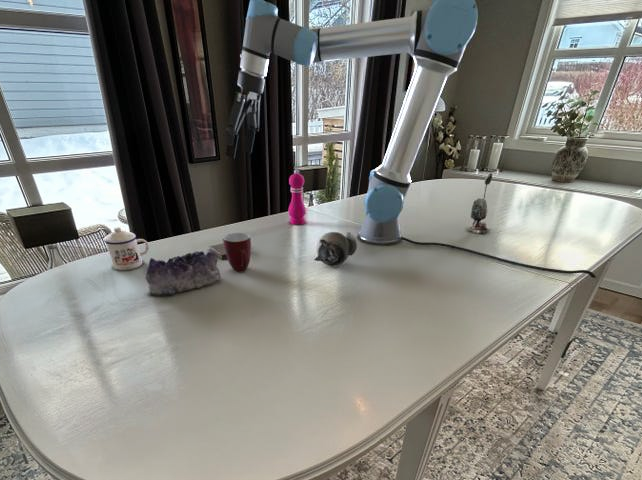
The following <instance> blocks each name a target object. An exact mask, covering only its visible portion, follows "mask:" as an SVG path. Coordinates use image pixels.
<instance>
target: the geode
mask: <svg viewBox="0 0 642 480" xmlns="http://www.w3.org/2000/svg"><path fill="white" fill-rule="evenodd" d="M218 258H219V257H218V256H217V255H215V254H214V253H213V252H211V251H207V252H206V254H205V252H204V251H203V250H201V251H199V250H195V251H193V252H188V253H185V254H183V255H181V256H180V255H178V256H174V257H171V258H168V260H167V261H165V260H163V259H158V260H156V259H155V258H153V257H151V258H150V259H149V263H148V265H147V268H146V274H145V280H146V283H147V284H148V291H149V294H150V296H160V297H163V296H171V295H174V294H177V293H181V292H184V291H189V290H193V289H196V288H199V289H200V288H201V287H205V286H208V285H211V284H213V283H216V282H218V281H219V280H220V279H221V271H220V269H219V268H218Z"/></svg>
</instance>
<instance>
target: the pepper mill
mask: <svg viewBox="0 0 642 480" xmlns="http://www.w3.org/2000/svg"><path fill="white" fill-rule="evenodd" d="M293 172H294V173H293V174H291V175H290V176H289V179H288V181H289V182H288V184H289V185H290V193H291V201H290V203H289V206H288V210H287V211H288V215H289V224H290V225H293V226H294V225H295V226H299V225H304V224H305V223H306V217H305V216H306V213H307V209H306V205H305V204H304V203H305V202H304V200H303V192H304V187H303V186H304V185H305V178H304V176H303V175H302V174H301V173H300V171H299V169H297V168H296V169H294V171H293Z"/></svg>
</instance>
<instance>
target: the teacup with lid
mask: <svg viewBox="0 0 642 480" xmlns="http://www.w3.org/2000/svg"><path fill="white" fill-rule="evenodd" d="M103 241H104V243H105V245H106V248H107V251H108V254H109V257H110V260H111V264H112V266H113V268H114V269H115V270H118V271H128V270H134V269H137V268H139V267H140V266H142V265H143V259H142V256H145V255H147V253H148V252H149V249H150V245H149V242H148V241H147V240H145V239H144V238H138V239H137V235H136V234H135V233H134V232H131V231H126V230H124V229H123V230H122V228H121V227H120V226H117V227H114V228H113V231H112V232H110V233H109V234H107V235H105V236H104V238H103ZM138 243H144V244H145V250H144V251H142V252H140V249H139V244H138Z"/></svg>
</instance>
